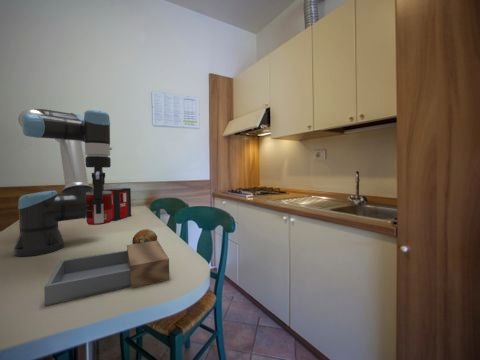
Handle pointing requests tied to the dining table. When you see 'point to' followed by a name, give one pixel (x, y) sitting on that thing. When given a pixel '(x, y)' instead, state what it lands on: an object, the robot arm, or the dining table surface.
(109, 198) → the canned food
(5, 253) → the dining table surface
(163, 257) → the walnut step
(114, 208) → the cleaning product box
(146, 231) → the bread roll
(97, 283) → the grey tray
